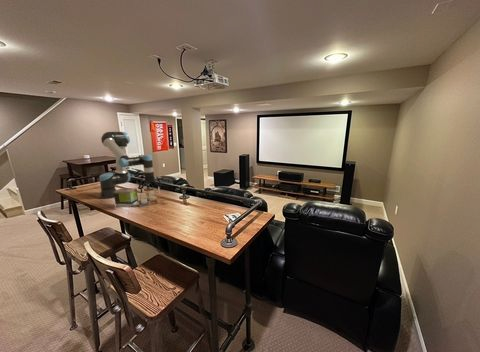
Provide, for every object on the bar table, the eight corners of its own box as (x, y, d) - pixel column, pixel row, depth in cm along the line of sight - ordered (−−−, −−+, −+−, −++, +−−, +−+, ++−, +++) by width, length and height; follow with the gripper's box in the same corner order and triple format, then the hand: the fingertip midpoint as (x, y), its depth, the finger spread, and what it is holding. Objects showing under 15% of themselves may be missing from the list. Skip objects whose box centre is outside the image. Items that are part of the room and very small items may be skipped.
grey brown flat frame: (139, 205, 169) (138, 202, 168) (157, 202, 177) (156, 199, 177) (140, 209, 162) (139, 205, 161) (159, 205, 170) (158, 202, 169)
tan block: (141, 204, 168) (139, 193, 166) (146, 203, 170) (145, 192, 168) (141, 206, 164) (140, 195, 162) (147, 205, 167) (146, 194, 164)
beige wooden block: (149, 201, 178) (147, 190, 176) (154, 200, 181) (153, 190, 179) (149, 202, 175) (148, 192, 173) (155, 201, 177) (154, 191, 175)
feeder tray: (145, 201, 180) (144, 198, 180) (156, 199, 186) (156, 196, 185) (146, 204, 173) (146, 201, 172) (158, 202, 178) (158, 199, 178)
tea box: (139, 203, 174) (137, 188, 171) (131, 208, 164) (129, 191, 161) (123, 203, 175) (121, 187, 172) (115, 207, 166) (112, 191, 162)
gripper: (133, 174, 162) (136, 198, 167) (164, 171, 176) (166, 193, 180) (132, 173, 168) (135, 196, 173) (162, 169, 182) (164, 191, 186)
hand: (151, 194), depth 176 cm, fingers open, 13 cm apart
